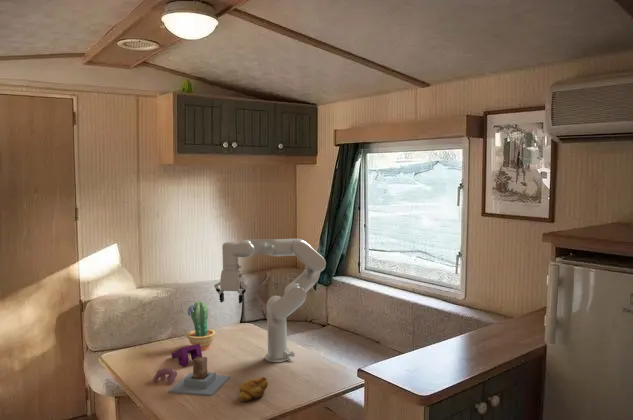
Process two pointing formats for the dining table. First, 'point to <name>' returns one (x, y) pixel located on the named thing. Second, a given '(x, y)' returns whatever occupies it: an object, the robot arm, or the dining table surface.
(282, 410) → the dining table surface
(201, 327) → the potted cactus
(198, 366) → the walnut block
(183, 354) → the mounting bracket
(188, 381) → the grey square socket base
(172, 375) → the video game controller
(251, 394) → the bread roll
